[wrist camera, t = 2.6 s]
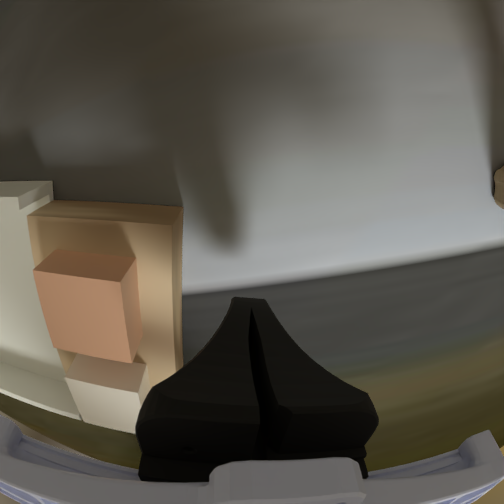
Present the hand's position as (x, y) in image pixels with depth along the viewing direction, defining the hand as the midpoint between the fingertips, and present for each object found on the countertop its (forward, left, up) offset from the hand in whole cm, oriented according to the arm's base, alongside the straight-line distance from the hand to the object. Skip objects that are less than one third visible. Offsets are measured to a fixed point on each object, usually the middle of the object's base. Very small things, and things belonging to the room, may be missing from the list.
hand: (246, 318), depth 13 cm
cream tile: (-6, +7, -1) cm, 9 cm away
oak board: (-3, +7, -3) cm, 8 cm away
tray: (-3, +16, -3) cm, 17 cm away
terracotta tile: (0, +7, -1) cm, 7 cm away
